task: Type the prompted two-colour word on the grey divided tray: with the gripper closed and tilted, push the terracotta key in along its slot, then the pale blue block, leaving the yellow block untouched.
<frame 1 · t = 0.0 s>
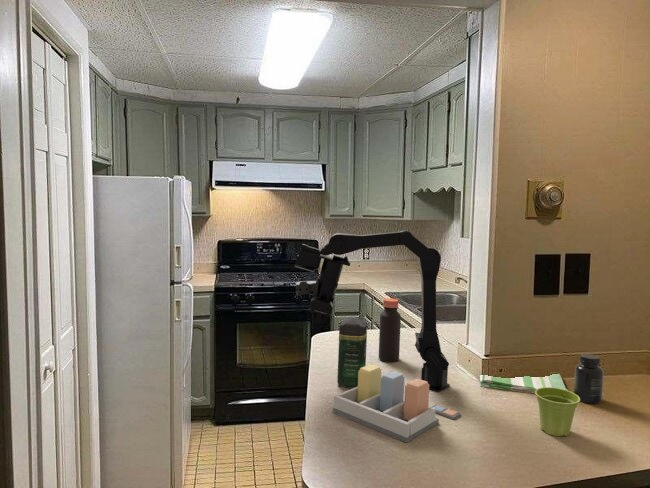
hand: (314, 328, 141), 15 cm above the counter, tool pointing down, fingers open, 9 cm apart
plant pot: (554, 431, 114), on the counter
grey divided tray: (391, 413, 121), on the counter
supplement bottle: (587, 400, 133), on the counter
dish towel: (520, 384, 146), on the counter
prompt tile: (444, 413, 123), on the counter
yellow block: (369, 384, 126), point 6 cm above the counter, slide at 0.0 cm
vinegar: (388, 359, 163), on the counter
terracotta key: (416, 400, 116), point 6 cm above the counter, slide at 0.0 cm
pale blue block: (392, 391, 121), point 6 cm above the counter, slide at 0.0 cm
coffee jar: (351, 383, 141), on the counter
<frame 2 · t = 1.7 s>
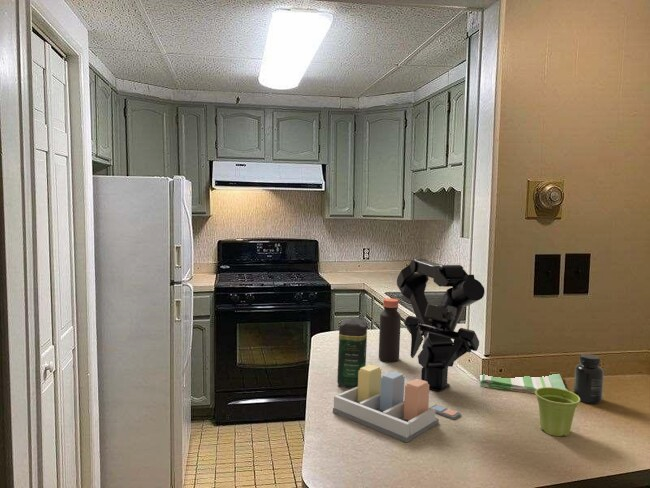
hand: (428, 361, 121), 13 cm above the counter, tool tilted 40°, fingers open, 9 cm apart
nothing on the counter moved.
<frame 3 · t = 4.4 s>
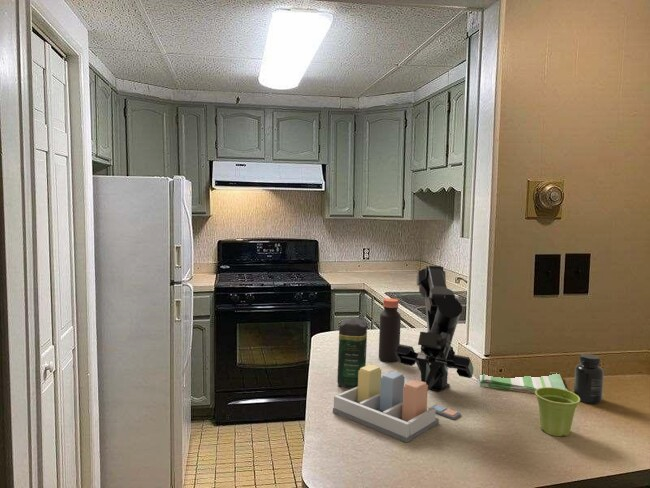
hand: (423, 391, 117), 7 cm above the counter, tool tilted 45°, fingers closed
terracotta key: (415, 401, 116), point 6 cm above the counter, slide at 0.7 cm, touching gripper
everything else where it was.
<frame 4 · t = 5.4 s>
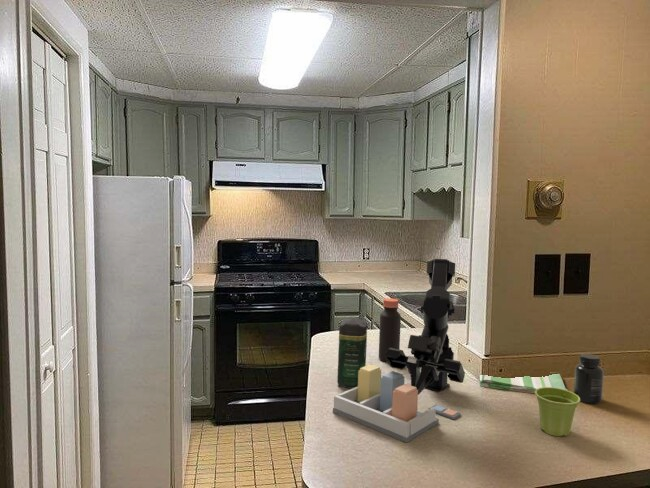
hand: (413, 396, 114), 7 cm above the counter, tool tilted 45°, fingers closed
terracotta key: (404, 406, 113), point 6 cm above the counter, slide at 5.0 cm, touching gripper
everything else where it was.
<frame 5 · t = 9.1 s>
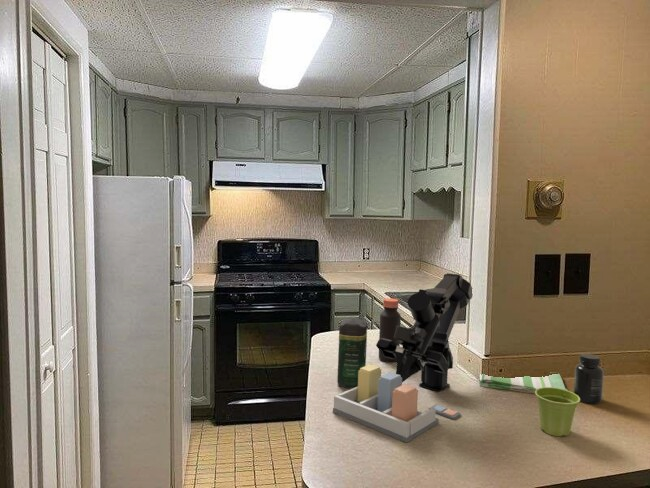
hand: (396, 383, 122), 7 cm above the counter, tool tilted 45°, fingers closed, pressing on pale blue block
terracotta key: (404, 406, 113), point 6 cm above the counter, slide at 5.0 cm
pale blue block: (389, 392, 120), point 6 cm above the counter, slide at 1.0 cm, touching gripper
everything else where it was.
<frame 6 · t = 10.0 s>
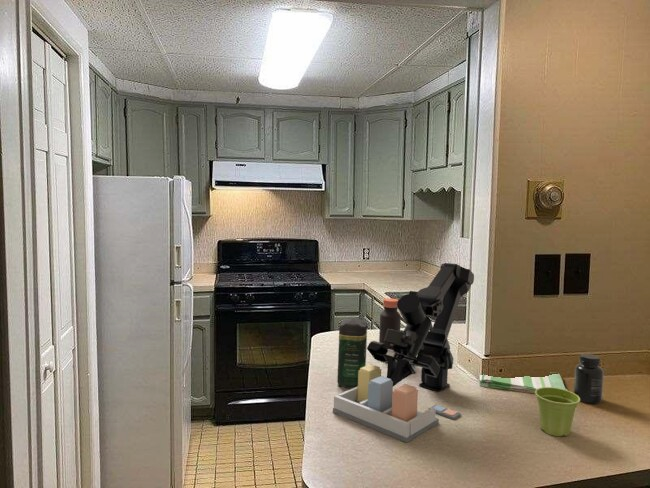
hand: (387, 387, 119), 7 cm above the counter, tool tilted 45°, fingers closed, pressing on pale blue block
pale blue block: (380, 397, 117), point 6 cm above the counter, slide at 4.9 cm, touching gripper
everything else where it was.
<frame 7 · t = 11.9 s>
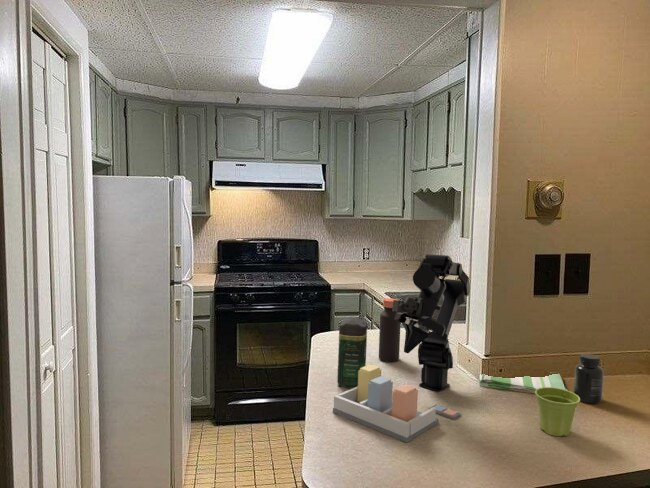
hand: (405, 352, 129), 13 cm above the counter, tool tilted 30°, fingers closed
pale blue block: (380, 397, 117), point 6 cm above the counter, slide at 5.0 cm
everything else where it was.
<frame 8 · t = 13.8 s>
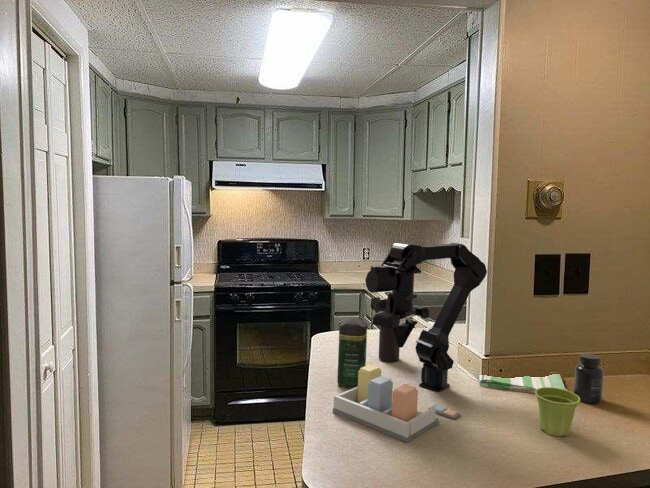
hand: (400, 347, 133), 13 cm above the counter, tool pointing down, fingers closed
nothing on the counter moved.
at the end: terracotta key slide at 5.0 cm; pale blue block slide at 5.0 cm; yellow block slide at 0.0 cm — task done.
